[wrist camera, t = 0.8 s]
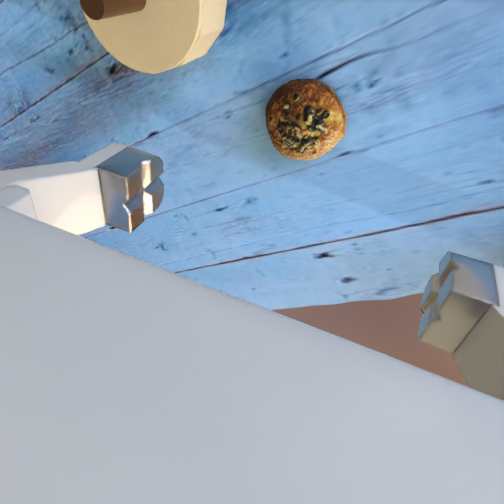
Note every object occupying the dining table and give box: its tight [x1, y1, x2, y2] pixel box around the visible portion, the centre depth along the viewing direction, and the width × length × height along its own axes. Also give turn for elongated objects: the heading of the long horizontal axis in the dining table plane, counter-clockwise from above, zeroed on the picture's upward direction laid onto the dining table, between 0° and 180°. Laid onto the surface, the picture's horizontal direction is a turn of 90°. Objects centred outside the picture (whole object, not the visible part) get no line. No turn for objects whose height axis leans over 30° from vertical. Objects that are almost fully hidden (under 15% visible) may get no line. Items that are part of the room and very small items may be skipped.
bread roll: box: [266, 79, 347, 161], centre depth 52 cm, size 11×11×5 cm
